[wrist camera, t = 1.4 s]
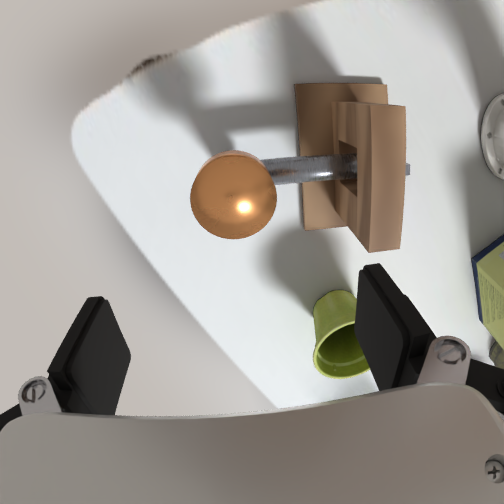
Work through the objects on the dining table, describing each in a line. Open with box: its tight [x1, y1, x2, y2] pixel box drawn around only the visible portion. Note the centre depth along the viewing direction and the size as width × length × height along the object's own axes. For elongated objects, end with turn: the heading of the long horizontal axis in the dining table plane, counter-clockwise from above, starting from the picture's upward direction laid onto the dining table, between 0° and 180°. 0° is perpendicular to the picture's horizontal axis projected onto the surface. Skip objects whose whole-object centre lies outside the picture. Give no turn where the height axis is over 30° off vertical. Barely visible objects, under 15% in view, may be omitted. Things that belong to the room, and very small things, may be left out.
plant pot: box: [313, 290, 370, 379], centre depth 38 cm, size 9×9×9 cm
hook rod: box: [190, 150, 410, 239], centre depth 27 cm, size 19×6×10 cm, turn 96°
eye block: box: [294, 83, 406, 253], centre depth 28 cm, size 10×16×11 cm, turn 6°
